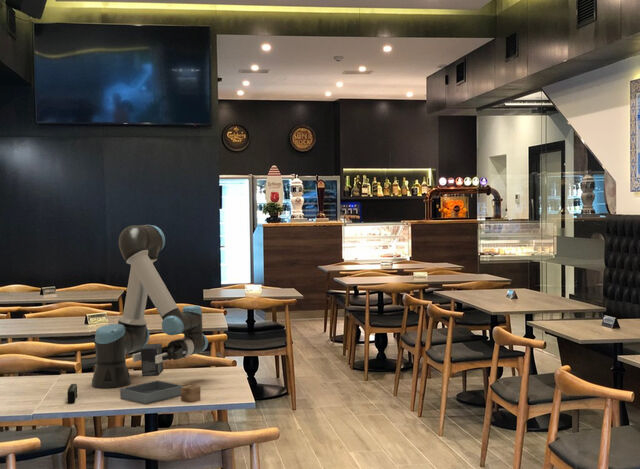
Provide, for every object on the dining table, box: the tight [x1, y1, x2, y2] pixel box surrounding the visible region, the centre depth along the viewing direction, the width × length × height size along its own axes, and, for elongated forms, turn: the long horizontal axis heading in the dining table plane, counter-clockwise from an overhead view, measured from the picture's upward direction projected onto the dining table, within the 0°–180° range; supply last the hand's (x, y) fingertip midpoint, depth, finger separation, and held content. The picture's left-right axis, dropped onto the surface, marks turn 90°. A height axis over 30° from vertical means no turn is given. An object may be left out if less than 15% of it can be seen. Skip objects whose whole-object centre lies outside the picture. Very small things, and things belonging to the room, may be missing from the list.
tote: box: [119, 380, 184, 405], centre depth 285 cm, size 15×17×4 cm
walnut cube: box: [180, 384, 202, 403], centre depth 279 cm, size 5×5×5 cm
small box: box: [140, 342, 164, 378], centre depth 285 cm, size 11×6×10 cm, turn 2°
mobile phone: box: [66, 383, 78, 404], centre depth 284 cm, size 5×3×15 cm
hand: (144, 358), depth 281 cm, fingers closed on small box, 9 cm apart
